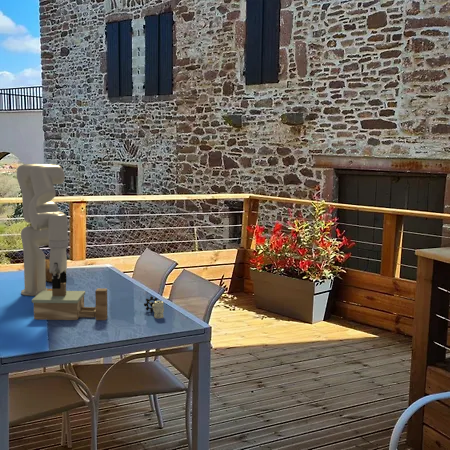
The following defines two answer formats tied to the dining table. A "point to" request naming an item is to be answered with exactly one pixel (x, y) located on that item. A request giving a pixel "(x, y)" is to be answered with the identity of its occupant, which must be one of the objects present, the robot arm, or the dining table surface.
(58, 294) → the lid
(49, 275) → the petrified wood
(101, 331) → the dining table surface
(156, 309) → the valve
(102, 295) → the brown rectangular block
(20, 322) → the dining table surface
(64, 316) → the toolbox
